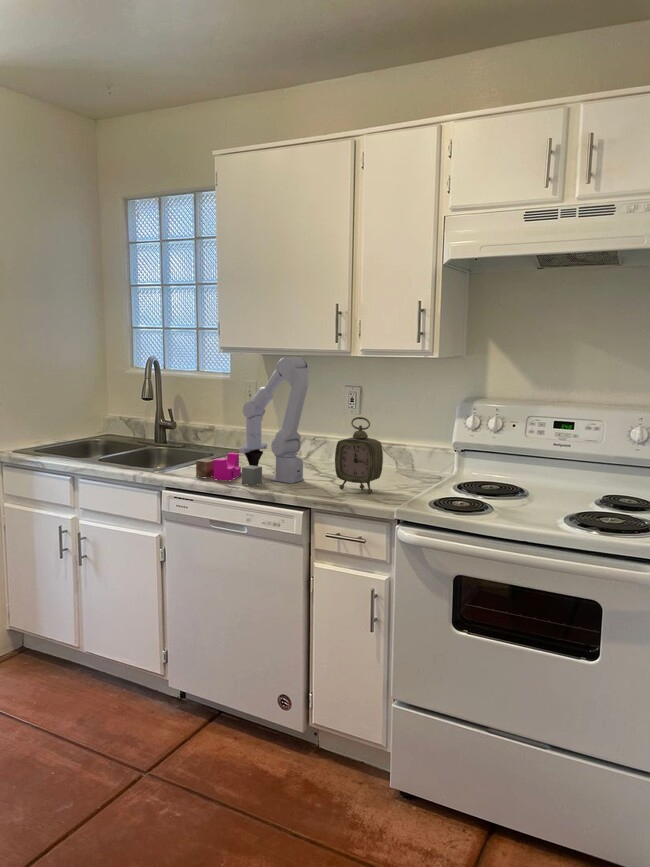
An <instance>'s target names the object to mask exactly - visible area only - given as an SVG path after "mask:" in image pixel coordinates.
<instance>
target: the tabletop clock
mask: <svg viewBox="0 0 650 867" xmlns="http://www.w3.org/2000/svg"><path fill="white" fill-rule="evenodd" d="M355 420H363V421H366V422H367V424H368V426H366V427H363V425H361V424H360V425H358V426H356V425H354V421H355ZM351 426H352V427H353V428H354V429H355V431H354V432H353V435H352V437H349V438H345V439H341V440H338V441H337V443H336V447H335V454H334V466H335V467H334V468H335V474H336V477H337V478H338V479H339V480H341V481H343V483H342V484H340V485H339V486H338V487H339V489H340V490H343V489H345V486H344V485H345V484H346V483H347V482H349V483H356V484H360V485H359V488H361V490H363V489H365V485H364V484H366V485H367V491H366V492H367V493H368V494H372V493H373V489H372V488H371V484H370V483H371V482H372V481H375V480H378V479H380V477H381V475H382V471H383V464H384V463H383V462H384V454H383V453H384V450H383V446H382V443H381V441H379V440H378V439H375V438H371V437H368V434H367V432H366V431H365V430H367V429H369V428H370V426H371V422H370V421H369V419H368V418H366V417H363V416H358V417H354V418H353V419H352V420H351Z"/></svg>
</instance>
